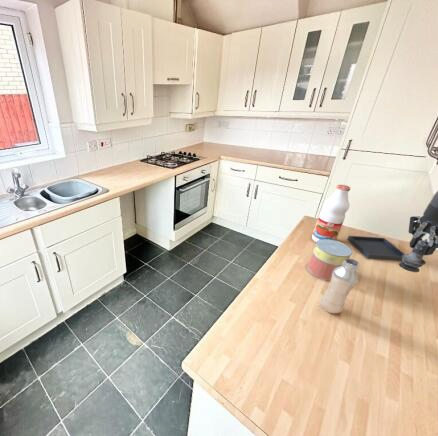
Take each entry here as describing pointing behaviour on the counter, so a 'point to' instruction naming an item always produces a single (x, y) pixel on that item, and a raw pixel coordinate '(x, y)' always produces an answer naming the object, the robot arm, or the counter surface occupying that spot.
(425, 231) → the robot arm
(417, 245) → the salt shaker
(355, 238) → the tray
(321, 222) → the fruit juice
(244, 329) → the counter surface
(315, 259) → the canned food
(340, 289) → the plastic bottle
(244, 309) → the counter surface
